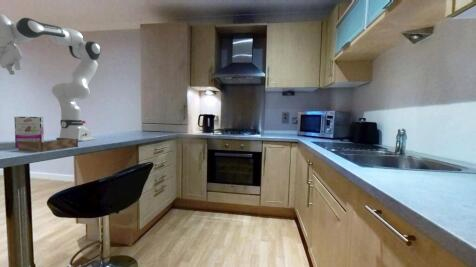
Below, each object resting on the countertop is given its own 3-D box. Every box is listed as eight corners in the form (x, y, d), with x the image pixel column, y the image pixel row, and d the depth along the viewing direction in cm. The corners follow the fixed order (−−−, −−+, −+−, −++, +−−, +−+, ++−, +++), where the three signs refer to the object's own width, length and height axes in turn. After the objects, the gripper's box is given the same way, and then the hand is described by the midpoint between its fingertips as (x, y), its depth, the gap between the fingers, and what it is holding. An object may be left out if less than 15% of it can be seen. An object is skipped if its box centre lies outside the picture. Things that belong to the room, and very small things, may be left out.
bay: (58, 145, 138) (58, 137, 138) (77, 146, 136) (77, 138, 136) (18, 149, 117) (18, 140, 117) (40, 151, 115) (40, 142, 115)
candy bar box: (44, 145, 134) (43, 116, 132) (41, 147, 129) (41, 117, 128) (18, 146, 128) (17, 116, 127) (14, 147, 124) (14, 116, 123)
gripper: (20, 39, 122) (29, 66, 124) (7, 52, 133) (16, 76, 135) (4, 38, 117) (14, 66, 119) (-8, 51, 128) (1, 77, 129)
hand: (15, 72), depth 127 cm, fingers open, 8 cm apart
